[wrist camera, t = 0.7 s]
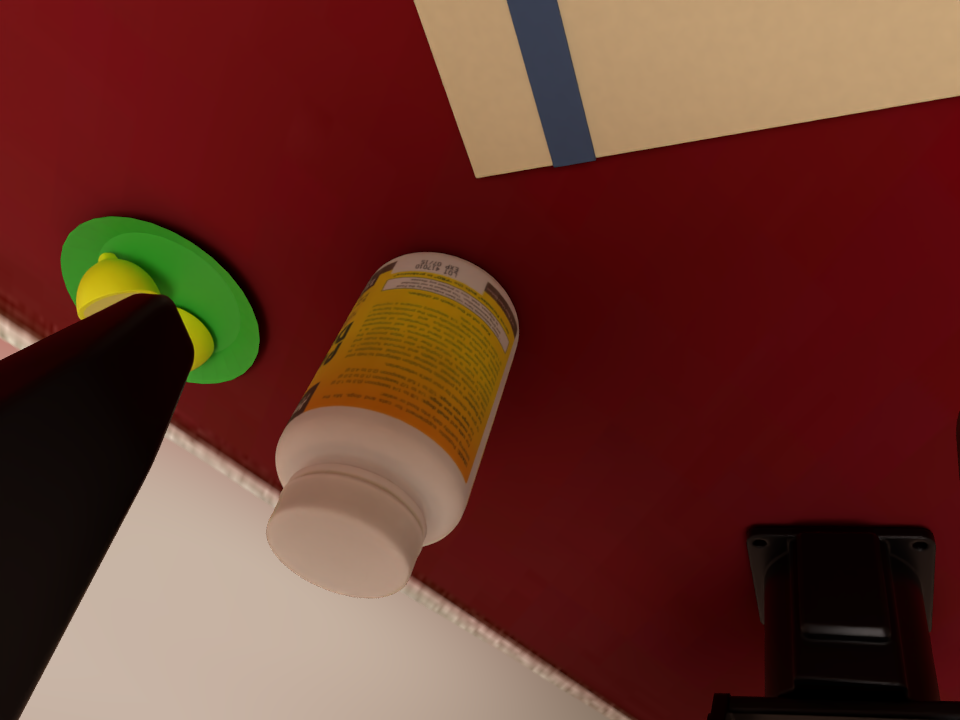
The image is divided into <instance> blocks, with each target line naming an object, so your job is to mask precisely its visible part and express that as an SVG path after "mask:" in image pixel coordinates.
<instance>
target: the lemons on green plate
mask: <svg viewBox="0 0 960 720" xmlns="http://www.w3.org/2000/svg"><path fill="white" fill-rule="evenodd" d="M61 268H62V275H63V278H64V281H65V284H66V288H67V290H68V292H69V294H70V296H71V298H72V300H73V302H74V304H75V305H76V307H77V313H78V317H79V318H80V319H81V320H83V319H85V318H87V317H89V316H91V315H93V314H95V313H97V312H99V311H101V310H103V309H105V308H107V307H109V306H111V305H113V304H115V303H117V302H119V301H121V300H123V299H125V298H127V297H129V296H131V295H133V294H137V293H147V294H161V295H165V296H168V297H169V298H170V299H171V300H172V301H173V302H174V303H175V305H176V307H177V309H178V312H179V314H180V316H181V318H182V320H183V323H184V325H185V327H186V329H187V331H188V334H189V336H190V338H191V340H192V343H193V345H194V362H193V366H192V368H191V371H190V373H189V376H188V378H187V381H186V382H192V383H200V384H210V383H221V382H225V381H229V380H232V379H234V378H236V377H238V376H240V375H242V374H244V373H245V372H246V371H247V369H248V368H249V367H250V366H251V365H252V364H253V362H254V360H255V358H256V356H257V354H258V348H259V342H260V338H259V329H258V323H257V321H256V318H255V315H254V312H253V309H252V307H251V305H250V303H249V302H248V300H247V298H246V296H245V295H244V293H243V291H242V290H241V288H240V287H239V286H238V285H237V283H236V282H235V281H234V280H233V278H232V277H231V276H230V274H229V273H228V272H227V271H226V270H224V269H223V268H222V267H221V266H220V265H219V264H218V263H217V262H216V261H215V260H214V259H213V258H212V257H211V256H209V255H208V254H207V253H205V252H204V251H203V250H201V249H200V248H199V247H197V246H196V245H195V244H193V243H192V242H190V241H188V240H186V239H185V238H183V237H181V236H179V235H178V234H176V233H174V232H172V231H170V230H167V229H165V228H162V227H160V226H158V225H155V224H153V223H150V222H146V221H141V220H137V219H133V218H127V217H113V216H110V217H103V218H96V219H92V220H90V221H87V222H85V223H83V224H80V225H79V226H78V227H77V228H75V229H74V230H73V231H72V232H71V233H70V234H69V235H68V237H67V239H66V241H65V243H64V245H63V249H62V254H61Z"/></svg>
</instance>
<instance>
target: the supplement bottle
mask: <svg viewBox="0 0 960 720" xmlns="http://www.w3.org/2000/svg"><path fill="white" fill-rule="evenodd" d="M518 338H519V324H518V318H517V314H516V311H515V308H514V306H513V304H512V302H511V300H510V298H509V296H508V295H507V293H506V291H505V290H504V289H503V288H502V286H501V285H500V284H499V283H498V282H497V281H496V280H495V279H494V278H493V277H492V276H491V275H489V274H488V273H487V272H486V271H484V270H483V269H481V268H480V267H478V266H476V265H474V264H473V263H471V262H469V261H466V260H464V259H461V258H459V257H456V256H452V255H448V254H444V253H436V252H417V253H411V254H406V255H403V256H400V257H397V258H395V259H393V260H391V261H389V262H387V263H386V264H384V265H383V266H382V267H381V268H379V269H378V270H377V271H376V273H375V274H374V275H373V276H372V277H371V279H370V280H369V282H368V284H367V285H366V287H365V288H364V290H363V292H362V294H361V295H360V297H359V299H358V301H357V302H356V304H355V306H354V308H353V309H352V311H351V313H350V315H349V316H348V318H347V320H346V322H345V323H344V325H343V327H342V329H341V330H340V332H339V334H338V335H337V337H336V339H335V341H334V343H333V344H332V346H331V348H330V350H329V352H328V353H327V355H326V357H325V359H324V360H323V362H322V364H321V366H320V368H319V369H318V371H317V373H316V375H315V377H314V378H313V380H312V382H311V384H310V385H309V387H308V389H307V391H306V392H305V394H304V396H303V397H302V399H301V401H300V402H299V404H298V406H297V408H296V410H295V412H294V413H293V415H292V417H291V418H290V420H289V422H288V423H287V425H286V427H285V429H284V431H283V433H282V435H281V437H280V439H279V442H278V445H277V449H276V457H275V460H276V469H277V473H278V477H279V479H280V482H281V484H282V486H283V490H282V492H281V493H280V497H279V501H278V503H277V505H276V507H275V509H274V512H273V514H272V515H271V517H270V519H269V521H268V525H267V530H266V534H267V540H268V543H269V545H270V547H271V549H272V550H273V552H274V553H275V555H276V556H277V557H278V558H279V560H280V561H281V562H282V563H283V564H284V565H285V566H287V567H288V568H289V569H290V570H291V571H293V572H294V573H295V574H297V575H298V576H300V577H302V578H303V579H305V580H307V581H309V582H310V583H312V584H314V585H317V586H319V587H322V588H324V589H326V590H329V591H332V592H335V593H338V594H342V595H346V596H351V597H359V598H380V597H385V596H389V595H392V594H394V593H396V592H398V591H399V590H401V589H402V588H403V587H404V586H405V585H406V584H407V582H408V580H409V578H410V576H411V573H412V570H413V567H414V565H415V562H416V559H417V557H418V556H419V554H420V552H421V550H422V547H424V546H427V545H430V544H433V543H435V542H437V541H439V540H441V539H443V538H444V537H445V536H447V535H448V534H449V533H450V532H451V531H452V530H453V529H454V528H455V527H456V526H457V524H458V523H459V521H460V519H461V517H462V515H463V512H464V510H465V508H466V506H467V503H468V499H469V496H470V493H471V490H472V487H473V484H474V481H475V478H476V475H477V472H478V468H479V465H480V462H481V459H482V456H483V453H484V450H485V446H486V443H487V440H488V437H489V434H490V431H491V428H492V425H493V422H494V419H495V415H496V412H497V409H498V406H499V403H500V399H501V396H502V393H503V390H504V387H505V384H506V380H507V377H508V374H509V371H510V368H511V364H512V361H513V358H514V355H515V351H516V347H517V343H518Z"/></svg>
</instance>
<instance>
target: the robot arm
mask: <svg viewBox="0 0 960 720" xmlns="http://www.w3.org/2000/svg"><path fill="white" fill-rule="evenodd" d="M193 362H194V345H193V343H192V340H191V338H190V336H189V334H188V331H187V329H186V327H185V325H184V323H183V320H182V318H181V316H180V314H179V312H178V309H177V307H176V305H175V303H174V302H173V301H172V300H171V299H170V298H169V297H168V296H165V295H161V294H147V293H137V294H133V295H131V296H129V297H127V298H125V299H123V300H121V301H119V302H117V303H115V304H113V305H111V306H109V307H107V308H105V309H103V310H101V311H99V312H97V313H95V314H93V315H91V316H89V317H87V318H85V319H83V320H81V321H79V322H77V323H75V324H72V325H70V326H68V327H66V328H64V329H62V330H60V331H58V332H56V333H54V334H52V335H50V336H48V337H46V338H44V339H42V340H40V341H38V342H36V343H34V344H32V345H30V346H28V347H26V348H24V349H22V350H20V351H18V352H16V353H14V354H12V355H10V356H8V357H6V358H4V359H2V360H0V720H19V718H20V716H21V714H22V712H23V710H24V708H25V706H26V704H27V702H28V701H29V699H30V697H31V695H32V693H33V691H34V689H35V687H36V685H37V684H38V681H39V680H40V678H41V676H42V674H43V672H44V670H45V668H46V666H47V665H48V663H49V661H50V659H51V657H52V655H53V653H54V651H55V649H56V647H57V645H58V644H59V642H60V640H61V638H62V636H63V634H64V632H65V630H66V628H67V627H68V624H69V623H70V621H71V619H72V617H73V615H74V613H75V611H76V610H77V608H78V606H79V604H80V602H81V600H82V598H83V596H84V594H85V592H86V591H87V589H88V587H89V585H90V583H91V581H92V579H93V577H94V575H95V573H96V572H97V569H98V568H99V566H100V564H101V562H102V560H103V558H104V556H105V554H106V552H107V551H108V549H109V547H110V545H111V543H112V541H113V539H114V537H115V536H116V534H117V532H118V530H119V528H120V526H121V524H122V522H123V520H124V518H125V516H126V515H127V513H128V511H129V509H130V507H131V505H132V503H133V501H134V499H135V497H136V496H137V494H138V492H139V490H140V488H141V486H142V484H143V482H144V480H145V478H146V476H147V474H148V472H149V470H150V468H151V466H152V464H153V462H154V460H155V457H156V455H157V452H158V450H159V448H160V445H161V443H162V441H163V438H164V436H165V433H166V431H167V428H168V426H169V423H170V421H171V418H172V416H173V413H174V411H175V408H176V406H177V403H178V401H179V398H180V396H181V393H182V391H183V388H184V386H185V383H186V381H187V378H188V376H189V373H190V371H191V368H192V366H193ZM956 439H957V452H958V465H959V478H960V411H959V415H958V419H957V426H956ZM747 548H748V554H749V559H750V565H751V570H752V576H753V582H754V587H755V593H756V599H757V604H758V610H759V615H760V621H761V623H762V624H764V631H765V697H747V696H731V695H730V693H715V694H714V698H713V704H712V709H711V713H709V714H708V717H707V720H960V701H940V696H939V690H938V684H937V678H936V672H935V666H934V660H933V654H932V648H931V642H930V636H929V632H930V631H931V628H932V609H933V590H934V571H935V552H936V545H935V539H934V535H933V533H932V532H930V531H929V530H926V529H920V528H811V527H755V528H752V529H750V530H749V531H748V532H747Z"/></svg>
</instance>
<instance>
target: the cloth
mask: <svg viewBox="0 0 960 720" xmlns="http://www.w3.org/2000/svg"><path fill="white" fill-rule="evenodd" d="M414 3H415V6H416V8H417V11H418V14H419V17H420V20H421V23H422V26H423V28H424V31H425V34H426V37H427V40H428V43H429V45H430V48H431V51H432V54H433V57H434V60H435V63H436V65H437V68H438V71H439V74H440V77H441V80H442V82H443V85H444V88H445V91H446V94H447V97H448V100H449V102H450V105H451V108H452V111H453V114H454V117H455V120H456V122H457V125H458V128H459V131H460V134H461V137H462V139H463V142H464V145H465V148H466V151H467V154H468V157H469V159H470V162H471V165H472V168H473V171H474V174H475V177H476V178H481V177H487V176H493V175H499V174H505V173H510V172H516V171H522V170H528V169H534V168H540V167H546V166H551V165H553V166H554V168H555V167H561V166H567V165H572V164H578V163H584V162H590V161H596V158H598V157H604V156H610V155H616V154H622V153H627V152H633V151H639V150H645V149H651V148H657V147H662V146H668V145H674V144H680V143H686V142H692V141H698V140H703V139H709V138H715V137H721V136H727V135H733V134H738V133H744V132H750V131H756V130H762V129H768V128H774V127H779V126H785V125H791V124H797V123H803V122H809V121H814V120H820V119H826V118H832V117H838V116H844V115H849V114H855V113H861V112H867V111H873V110H879V109H885V108H890V107H896V106H902V105H908V104H914V103H920V102H925V101H931V100H937V99H943V98H949V97H955V96H960V0H414Z"/></svg>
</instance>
